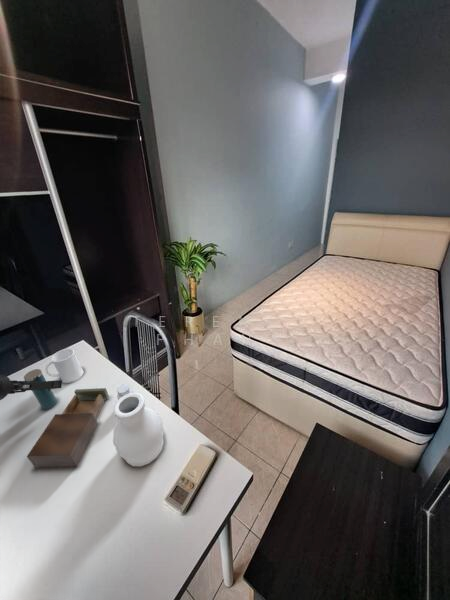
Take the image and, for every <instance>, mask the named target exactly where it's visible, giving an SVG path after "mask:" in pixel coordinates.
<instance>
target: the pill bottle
mask: <svg viewBox="0 0 450 600" xmlns="http://www.w3.org/2000/svg"><path fill="white" fill-rule="evenodd" d="M116 392H117V401H118V400H119V399H120V398H121V397H123V396H125V395H126V394H130V393H134V391H133V389H132V388H130V386H129V385H128V384H127V383H125V384H121V385H119V386H118V387H117V389H116Z"/></svg>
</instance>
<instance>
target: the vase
mask: <svg viewBox="0 0 450 600" xmlns="http://www.w3.org/2000/svg"><path fill="white" fill-rule="evenodd" d="M113 413H114V416H115V417H116V418H117V419H118V420H117V422H116V425H115V426H114V429H113V435H112V436H113V437H112V438H113V439H112V443H113V446H114V447H115V450H116V452H117V454H118V455H119V456H120V457H121V458H122V459H123V460H125V462H126V463H127V464H129V465H130V466H132V467H144V466H146V465H148V464H150V463H151V462H153V461H154V460H155V459H157V457H158V456H159V455H160V453H161V452H162V449H163V446H164V433H165V432H164V425H163V419H162V416H160V415H159V413H158V412H157V411H156V410H154V409H153V408H150V407H148V406H146V402H145V397H144V396H143V394H141V393H138V392H133V393H130V394H126V395H125V396H123V397H121V398H120V399H119V400H118V399H117V401H116V402H115V404H114V405H113Z"/></svg>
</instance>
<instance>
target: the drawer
mask: <svg viewBox="0 0 450 600" xmlns="http://www.w3.org/2000/svg"><path fill="white" fill-rule="evenodd" d="M109 399H110V395H109V393H108V390H107V387H103V388H102V387H101V388H79V389H75V390H74V395H73V396H72V398H71V400H70V401H69V402H68V404H67V406H66V407H65V408H64V410H63V411H62V412H61V414H77V413H93V415H94V417H95V419H96V420H97V418H98V416H99V414H100V412H101V410H102V408H103V406H104V404H105V401H106V400H109Z"/></svg>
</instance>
